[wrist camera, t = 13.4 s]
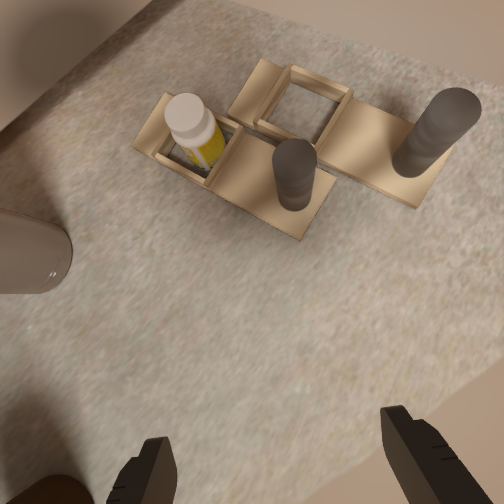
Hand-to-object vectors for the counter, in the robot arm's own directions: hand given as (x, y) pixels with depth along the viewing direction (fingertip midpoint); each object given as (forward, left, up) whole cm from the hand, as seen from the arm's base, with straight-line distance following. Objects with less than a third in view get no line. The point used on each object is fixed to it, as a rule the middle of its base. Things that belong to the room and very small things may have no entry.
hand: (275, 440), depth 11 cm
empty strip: (-8, +23, -21) cm, 32 cm away
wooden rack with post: (-17, +14, -21) cm, 30 cm away
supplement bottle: (-20, +14, -21) cm, 32 cm away
